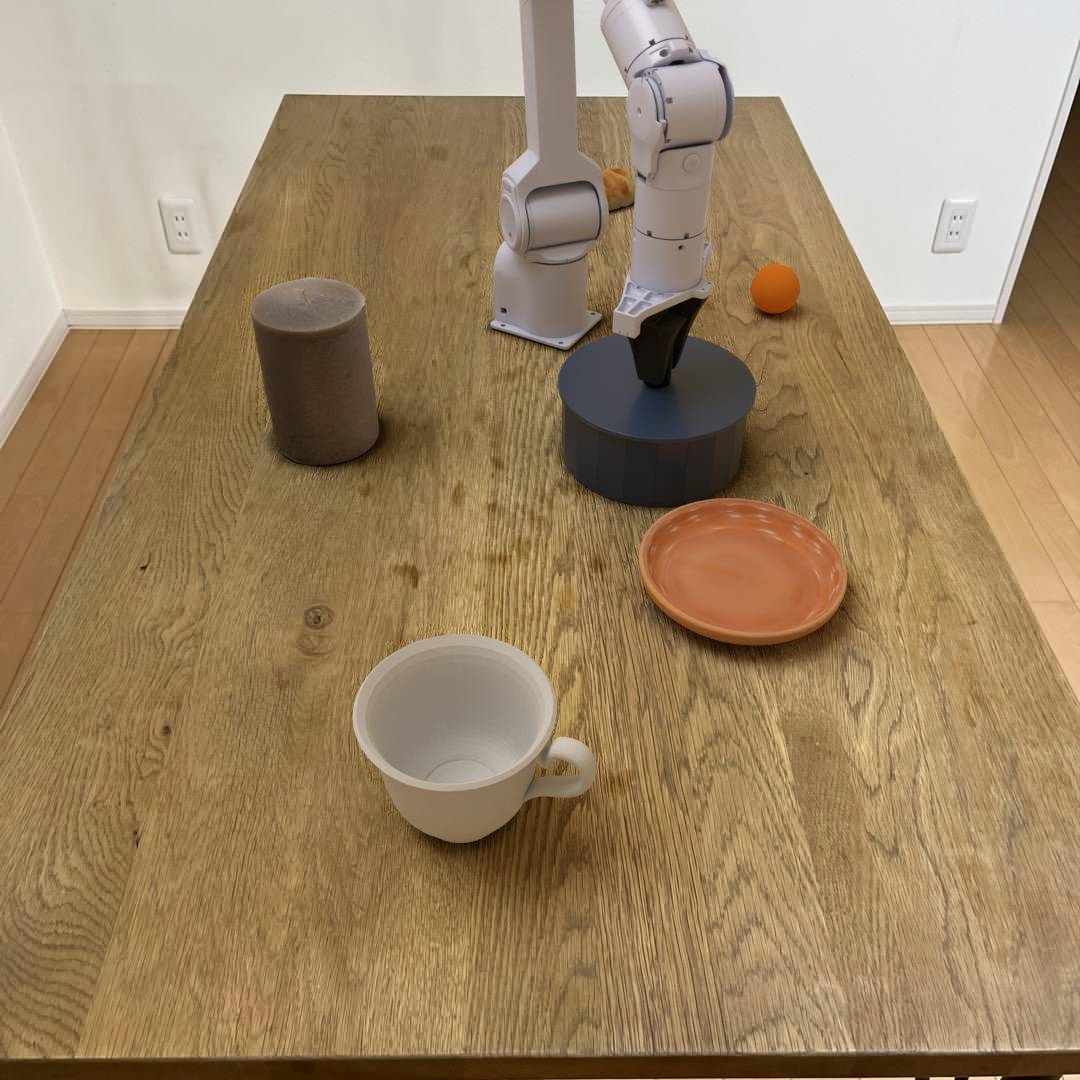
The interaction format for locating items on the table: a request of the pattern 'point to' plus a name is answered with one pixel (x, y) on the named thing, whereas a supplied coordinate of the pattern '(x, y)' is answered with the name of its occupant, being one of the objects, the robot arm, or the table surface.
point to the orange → (775, 288)
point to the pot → (650, 464)
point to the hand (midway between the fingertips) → (657, 372)
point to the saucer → (742, 571)
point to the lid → (657, 392)
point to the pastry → (618, 187)
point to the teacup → (464, 734)
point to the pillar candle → (316, 369)
